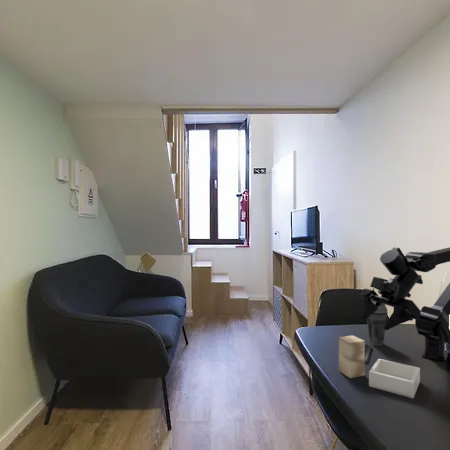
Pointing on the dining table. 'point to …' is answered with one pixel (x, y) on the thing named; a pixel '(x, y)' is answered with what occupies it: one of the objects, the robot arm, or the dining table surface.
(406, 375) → the box
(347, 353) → the wood block
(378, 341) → the beverage cup
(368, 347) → the phone
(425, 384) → the dining table surface
